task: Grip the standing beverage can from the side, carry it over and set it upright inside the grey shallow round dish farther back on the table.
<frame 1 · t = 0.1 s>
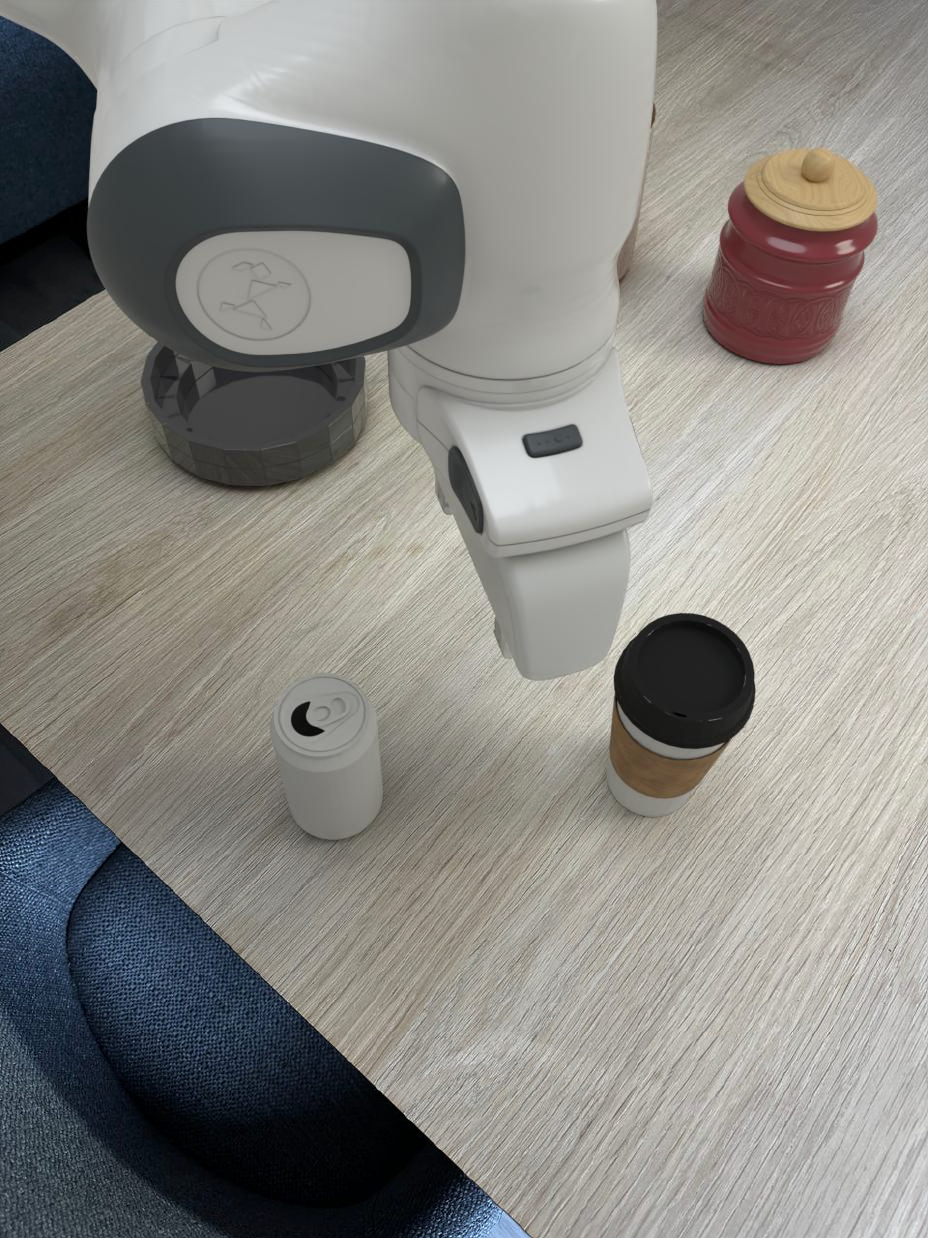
hand: (483, 570, 53), 23 cm above the table, tool pointing down, fingers open, 8 cm apart
planter: (543, 256, 105), on the table
grey shallow round dish: (262, 413, 91), on the table
beverage can: (337, 801, 71), on the table
coffee cup: (648, 779, 72), on the table
kitchen canister: (766, 323, 100), on the table
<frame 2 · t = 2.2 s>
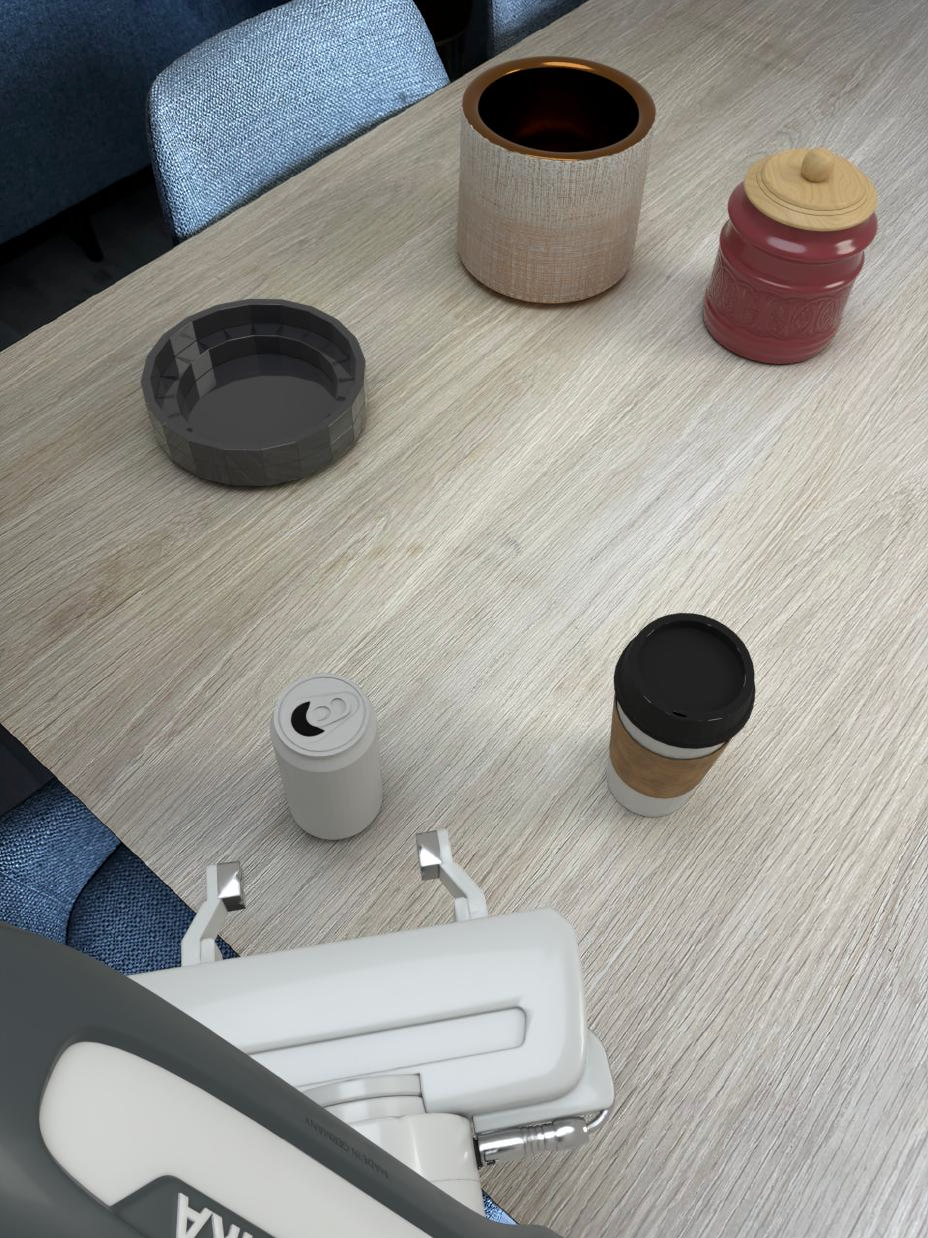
hand: (329, 850, 47), 20 cm above the table, tool horizontal, fingers open, 8 cm apart
nothing on the table moved.
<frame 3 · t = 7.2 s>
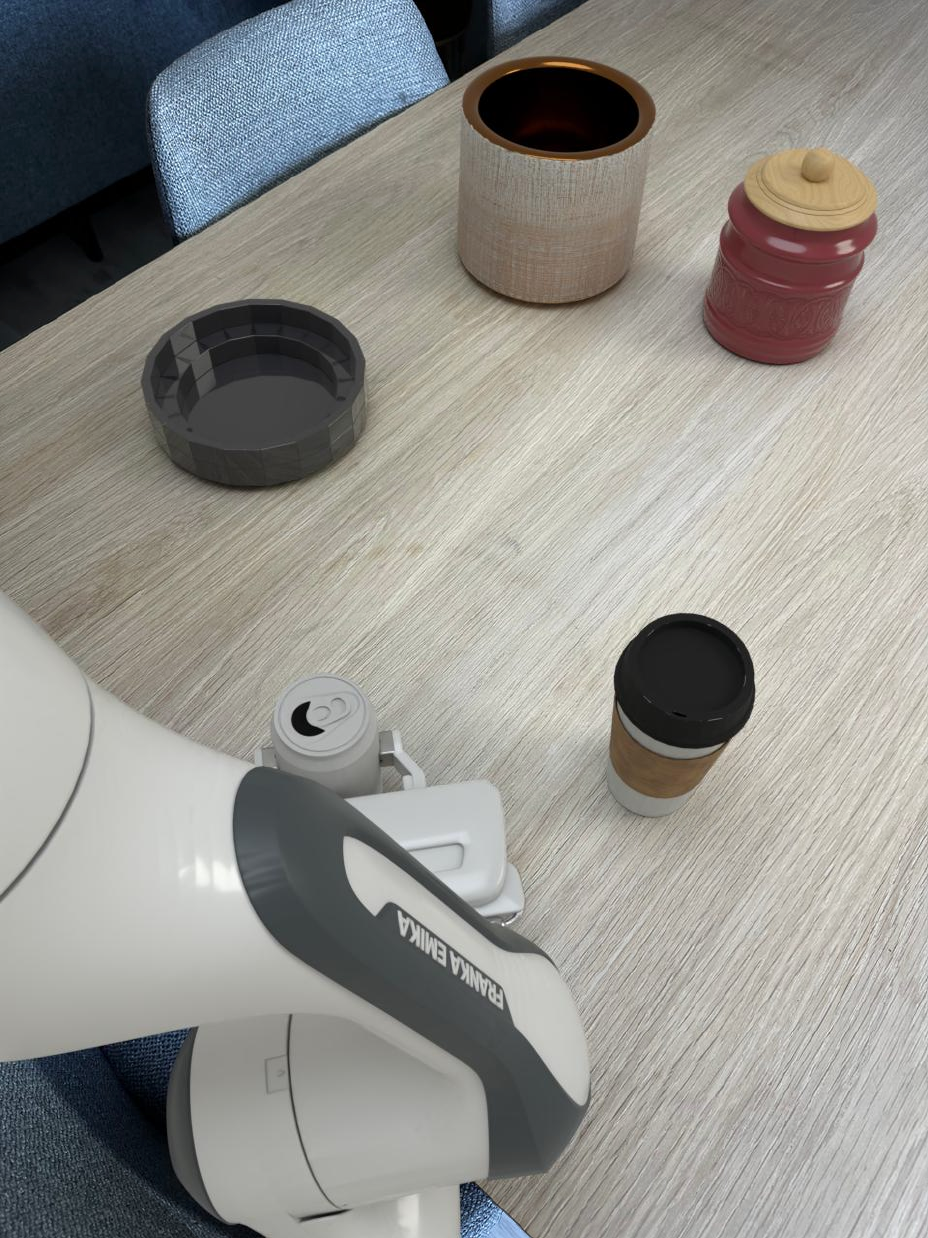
hand: (327, 743, 66), 7 cm above the table, tool horizontal, fingers closed on beverage can, 6 cm apart
beverage can: (337, 801, 71), on the table, touching gripper
everything else where it was.
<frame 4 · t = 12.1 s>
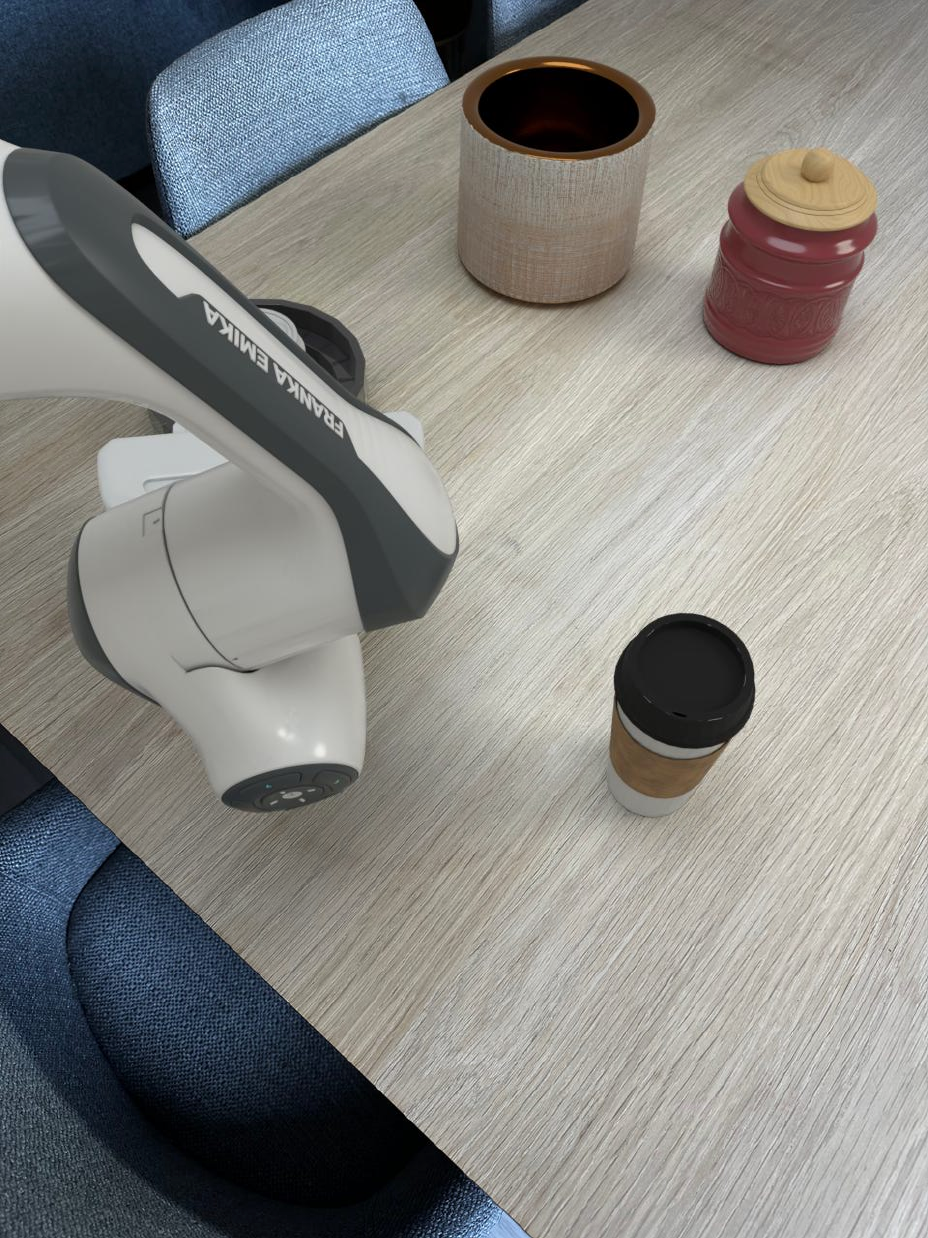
hand: (261, 391, 69), 17 cm above the table, tool horizontal, fingers closed on beverage can, 6 cm apart
beverage can: (275, 471, 74), point 10 cm above the table, touching gripper
everything else where it was.
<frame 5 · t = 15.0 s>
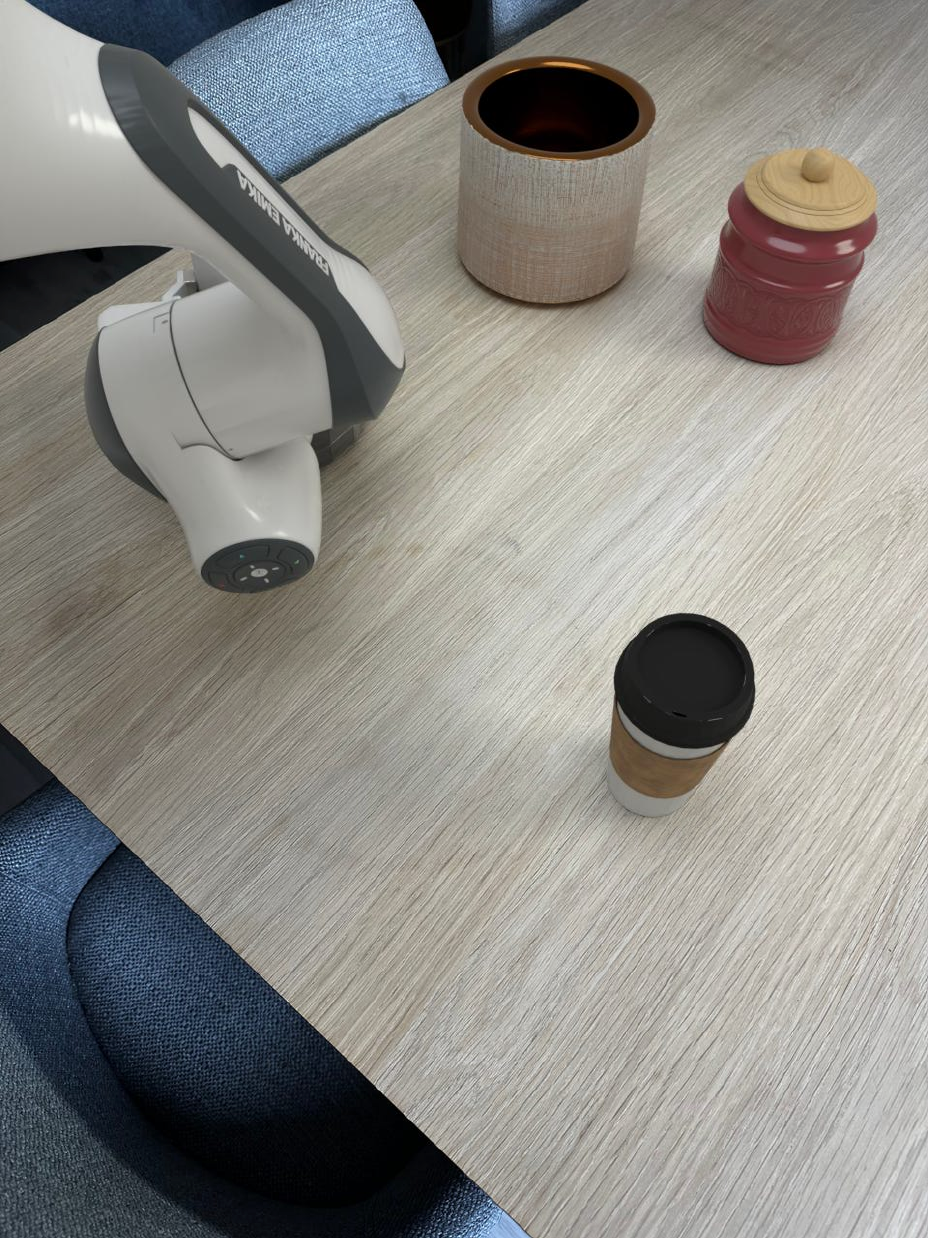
hand: (237, 272, 80), 14 cm above the table, tool horizontal, fingers closed on beverage can, 6 cm apart
beverage can: (252, 348, 85), point 7 cm above the table, touching gripper
everything else where it was.
when the fingers open (7 cm above the table, at t = 17.4 s): beverage can stays where it is, resting on grey shallow round dish.
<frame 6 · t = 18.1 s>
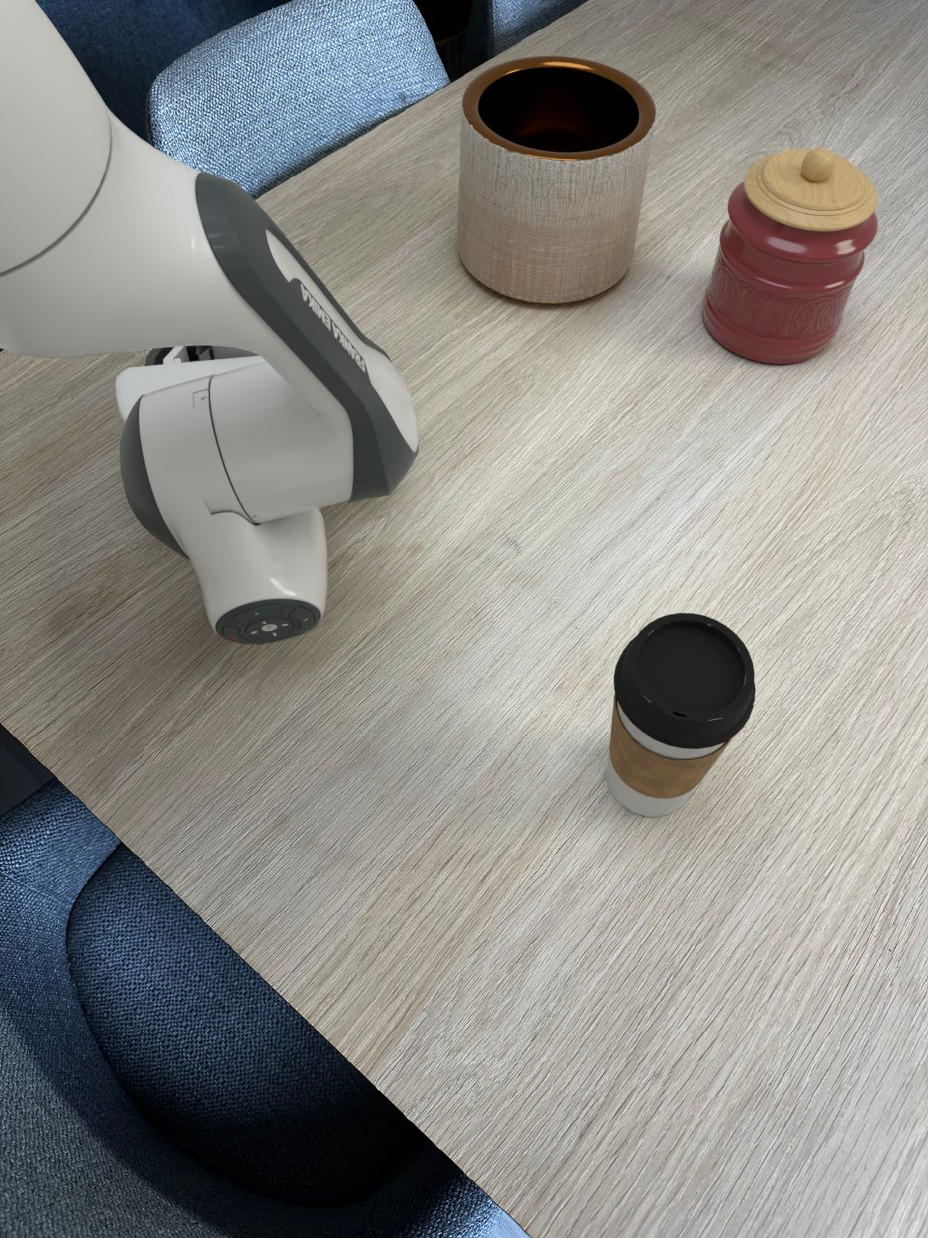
hand: (246, 333, 85), 8 cm above the table, tool horizontal, fingers open, 8 cm apart
beverage can: (263, 408, 91), point 1 cm above the table, touching grey shallow round dish
everything else where it was.
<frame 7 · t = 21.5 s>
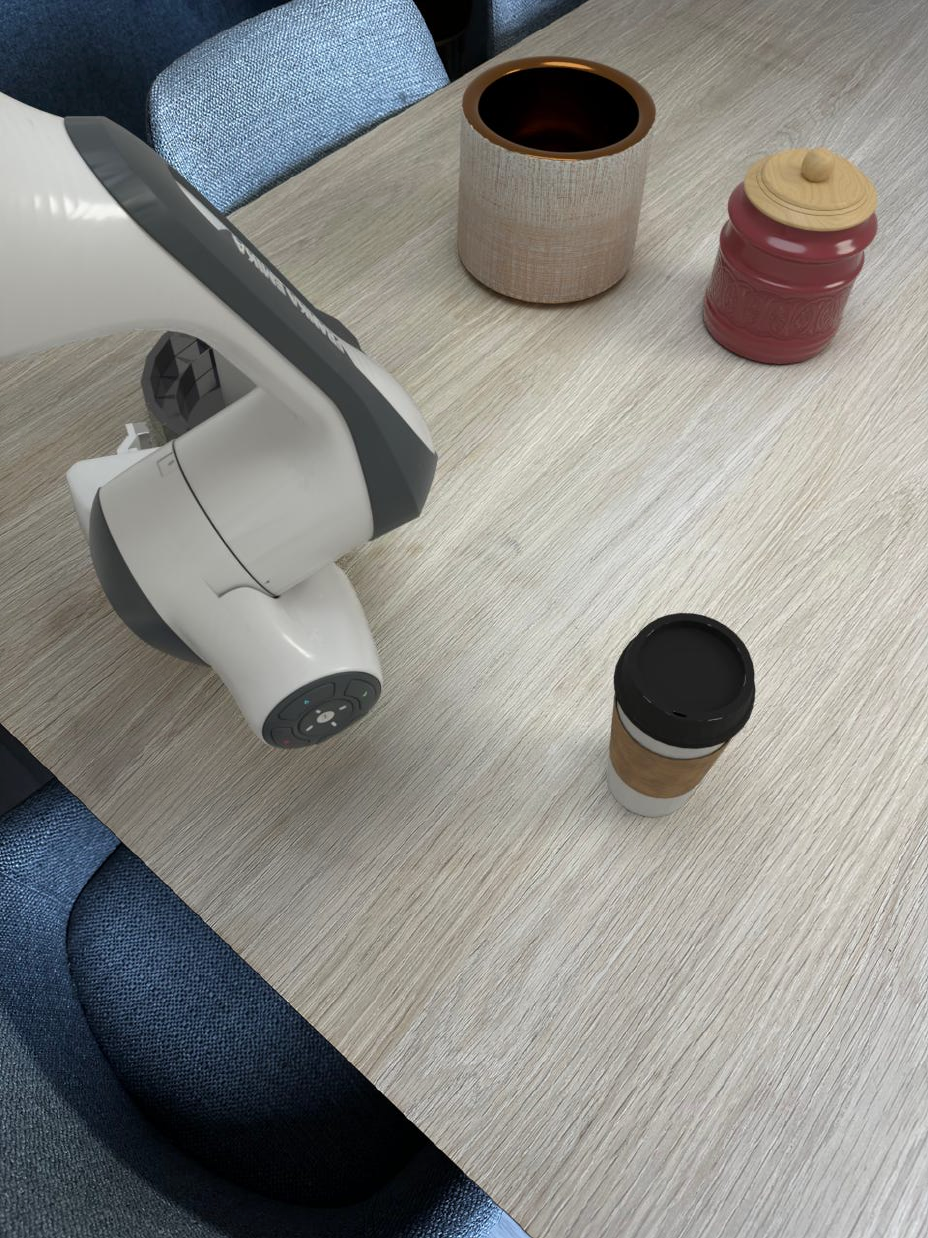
hand: (203, 418, 75), 11 cm above the table, tool horizontal, fingers open, 8 cm apart
nothing on the table moved.
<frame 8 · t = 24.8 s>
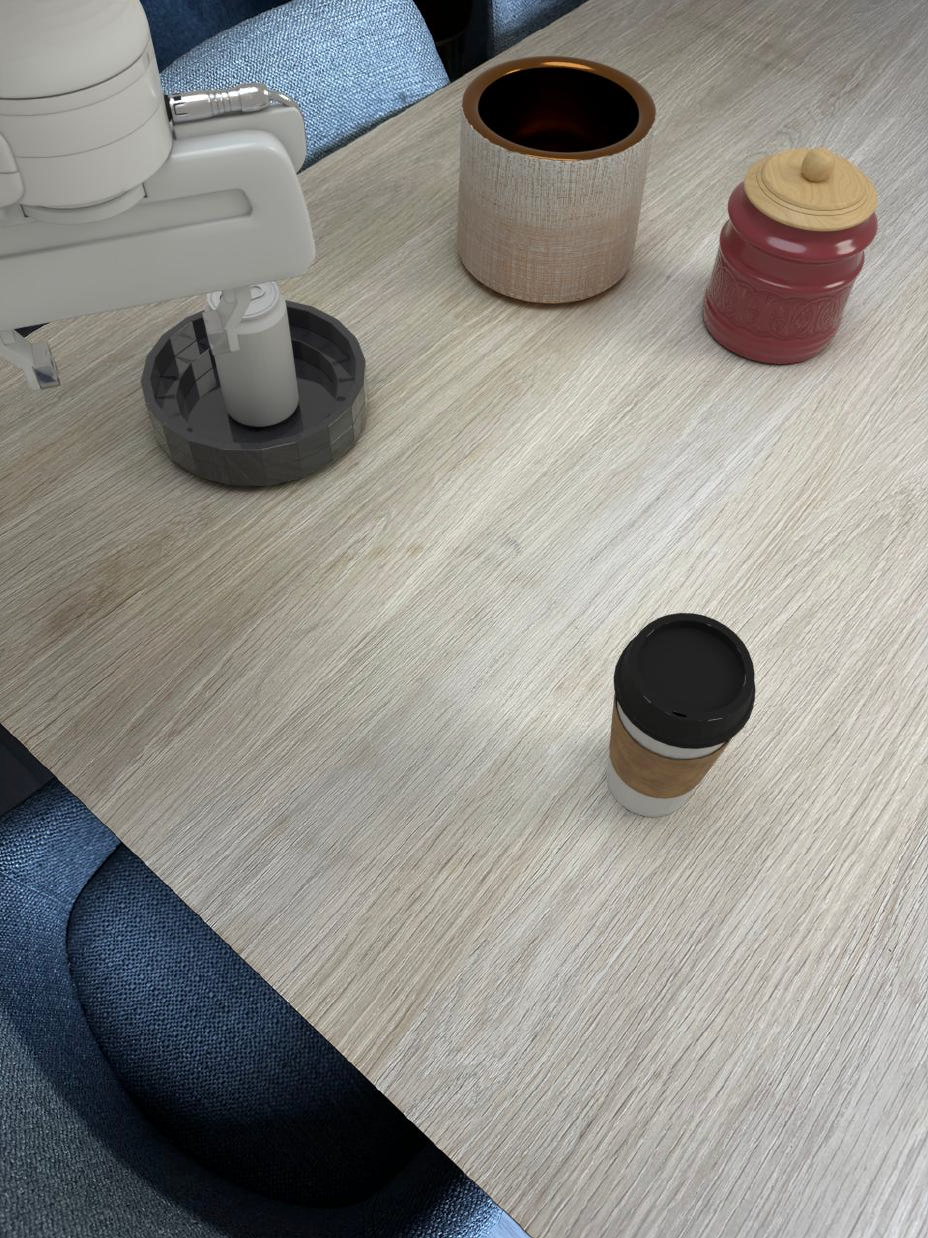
hand: (136, 363, 55), 27 cm above the table, tool pointing down, fingers open, 8 cm apart
nothing on the table moved.
at the end: beverage can inside the target area in the grey shallow round dish (0.2 cm from its centre), point 0.6 cm above the grey shallow round dish's base; beverage can tilted 0°; the gripper is holding nothing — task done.
